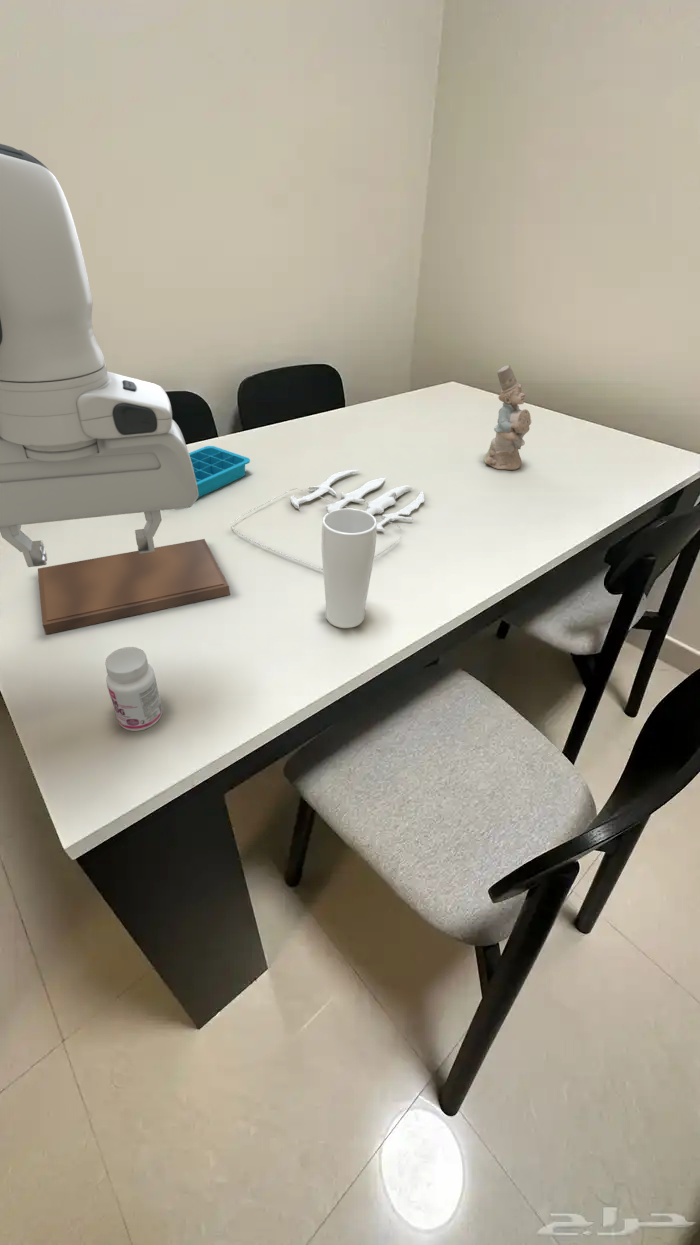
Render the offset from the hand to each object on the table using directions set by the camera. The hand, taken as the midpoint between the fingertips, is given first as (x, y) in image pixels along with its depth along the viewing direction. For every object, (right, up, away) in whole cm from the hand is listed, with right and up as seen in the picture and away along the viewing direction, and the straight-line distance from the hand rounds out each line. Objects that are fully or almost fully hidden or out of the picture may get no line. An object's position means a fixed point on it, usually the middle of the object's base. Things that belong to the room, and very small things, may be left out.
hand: (93, 556), depth 54 cm
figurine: (+56, +28, +71) cm, 95 cm away
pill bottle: (+1, -17, +10) cm, 20 cm away
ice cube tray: (-6, +20, +57) cm, 61 cm away
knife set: (+23, +13, +49) cm, 55 cm away
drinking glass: (+23, -6, +26) cm, 35 cm away
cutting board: (-7, -1, +29) cm, 30 cm away
